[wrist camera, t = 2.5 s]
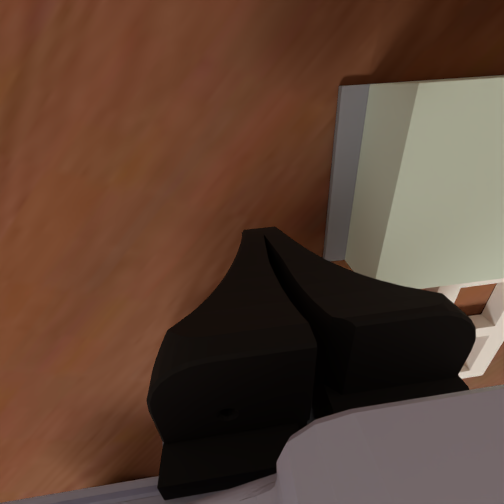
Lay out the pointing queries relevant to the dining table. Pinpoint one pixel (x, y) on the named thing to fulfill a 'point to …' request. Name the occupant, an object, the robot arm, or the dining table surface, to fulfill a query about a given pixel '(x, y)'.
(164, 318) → the dining table surface
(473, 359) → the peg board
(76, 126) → the dining table surface
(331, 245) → the pattern mat
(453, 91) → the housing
